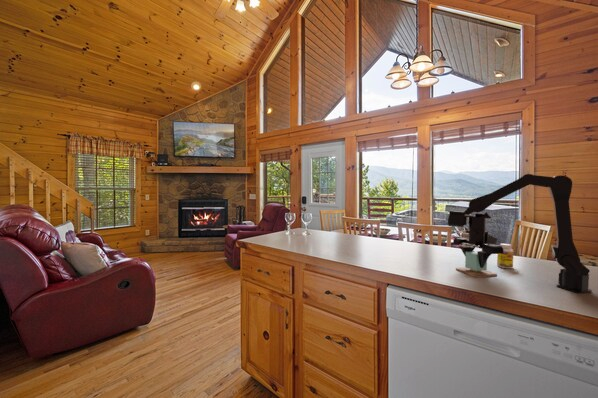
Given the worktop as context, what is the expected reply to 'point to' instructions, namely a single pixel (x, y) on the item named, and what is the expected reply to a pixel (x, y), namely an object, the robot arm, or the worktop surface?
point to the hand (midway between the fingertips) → (475, 265)
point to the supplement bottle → (505, 257)
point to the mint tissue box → (473, 261)
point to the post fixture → (476, 272)
